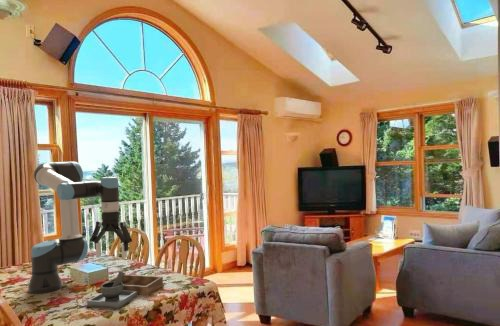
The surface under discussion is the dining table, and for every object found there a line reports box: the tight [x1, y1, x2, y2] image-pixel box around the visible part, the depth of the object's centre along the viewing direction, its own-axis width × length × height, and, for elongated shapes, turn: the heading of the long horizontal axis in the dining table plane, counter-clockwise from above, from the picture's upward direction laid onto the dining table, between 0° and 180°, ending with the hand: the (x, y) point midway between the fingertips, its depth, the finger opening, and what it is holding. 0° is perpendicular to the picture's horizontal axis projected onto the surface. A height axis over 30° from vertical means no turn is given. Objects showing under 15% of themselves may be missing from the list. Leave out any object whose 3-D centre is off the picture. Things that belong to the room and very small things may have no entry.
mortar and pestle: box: [99, 270, 126, 302], centre depth 178 cm, size 11×9×12 cm
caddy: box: [102, 274, 164, 297], centre depth 195 cm, size 24×16×4 cm, turn 75°
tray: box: [86, 290, 138, 310], centre depth 178 cm, size 16×16×3 cm
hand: (111, 257), depth 178 cm, fingers open, 13 cm apart
